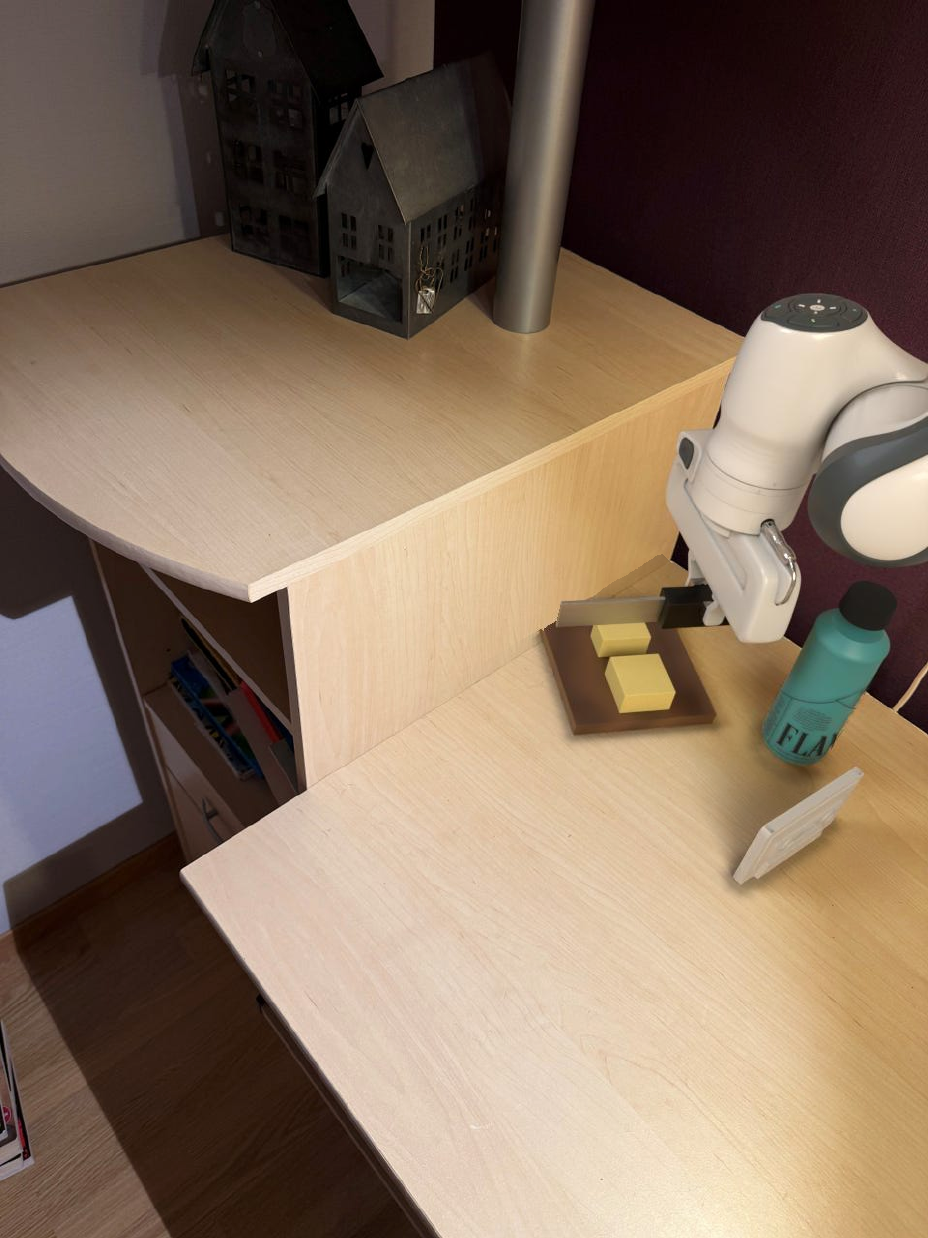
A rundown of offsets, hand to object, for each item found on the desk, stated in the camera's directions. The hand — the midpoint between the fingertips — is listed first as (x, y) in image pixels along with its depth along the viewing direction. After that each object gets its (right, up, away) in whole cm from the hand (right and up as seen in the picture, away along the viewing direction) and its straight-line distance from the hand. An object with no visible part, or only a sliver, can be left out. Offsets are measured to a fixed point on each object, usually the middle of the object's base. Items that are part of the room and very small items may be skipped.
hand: (701, 606), depth 86 cm
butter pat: (-7, -4, +6) cm, 10 cm away
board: (-7, -6, +6) cm, 11 cm away
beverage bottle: (+8, -14, 0) cm, 16 cm away
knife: (-4, -1, 0) cm, 4 cm away
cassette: (+5, -21, -8) cm, 23 cm away
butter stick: (-6, -8, +2) cm, 10 cm away
